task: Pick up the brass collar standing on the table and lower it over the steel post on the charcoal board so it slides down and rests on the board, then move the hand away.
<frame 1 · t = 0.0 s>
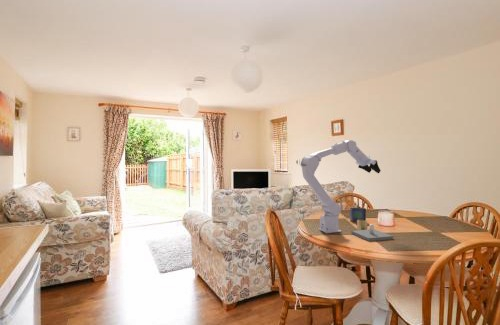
hand: (374, 171, 161), 32 cm above the table, tool tilted 50°, fingers open, 7 cm apart
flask: (357, 222, 176), on the table
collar: (362, 229, 157), on the table
post block: (371, 236, 143), on the table
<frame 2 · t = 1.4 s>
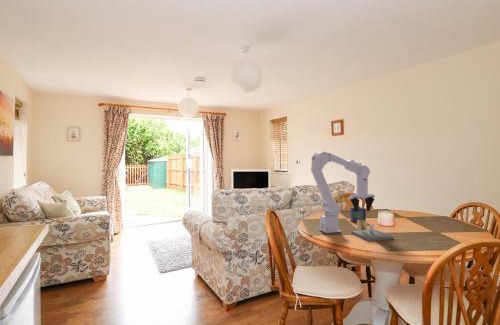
hand: (362, 211, 156), 10 cm above the table, tool pointing down, fingers open, 7 cm apart
nothing on the table moved.
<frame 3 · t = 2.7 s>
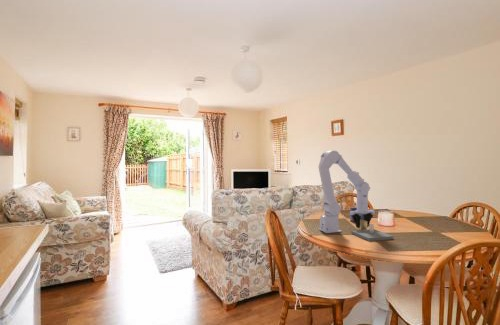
hand: (362, 227, 157), 1 cm above the table, tool pointing down, fingers closed on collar, 5 cm apart
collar: (362, 229, 157), on the table, touching gripper
everything else where it was.
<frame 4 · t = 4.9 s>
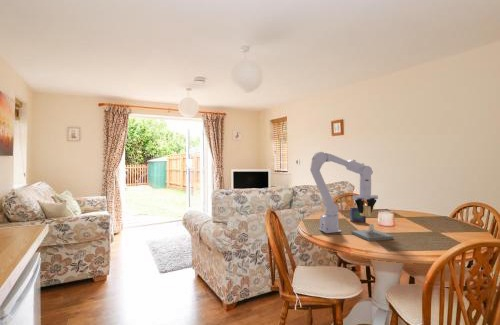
hand: (365, 212, 152), 10 cm above the table, tool pointing down, fingers closed on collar, 5 cm apart
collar: (365, 215, 152), point 9 cm above the table, touching gripper
everything else where it was.
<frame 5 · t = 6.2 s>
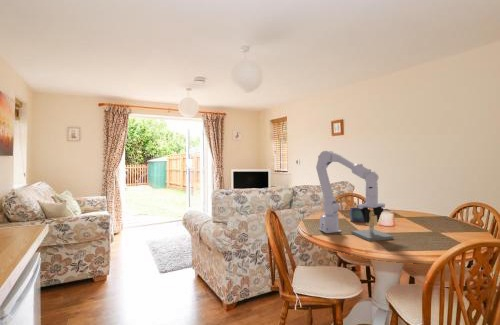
hand: (371, 222, 143), 7 cm above the table, tool pointing down, fingers closed on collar, 5 cm apart
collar: (371, 224, 143), point 6 cm above the table, touching gripper
everything else where it was.
when the fingers open (4 cm above the table, at t = 7.4 s): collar drops 1 cm, resting on post block.
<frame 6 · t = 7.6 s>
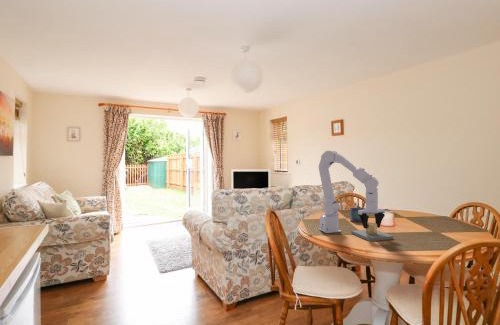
hand: (371, 227, 143), 4 cm above the table, tool pointing down, fingers open, 7 cm apart
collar: (371, 233, 143), point 1 cm above the table, touching post block
everything else where it was.
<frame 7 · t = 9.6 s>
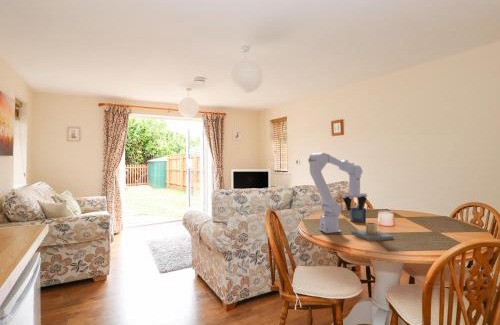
hand: (354, 210, 160), 10 cm above the table, tool pointing down, fingers open, 7 cm apart
nothing on the table moved.
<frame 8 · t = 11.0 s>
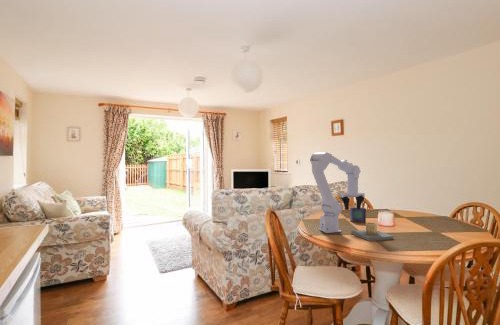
hand: (352, 209, 162), 10 cm above the table, tool pointing down, fingers open, 7 cm apart
nothing on the table moved.
at the end: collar 0.1 cm from the post block (horizontally); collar point 1.5 cm above the table; the gripper is holding nothing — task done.
